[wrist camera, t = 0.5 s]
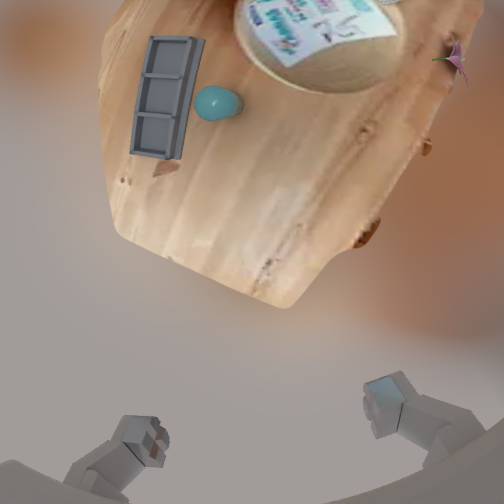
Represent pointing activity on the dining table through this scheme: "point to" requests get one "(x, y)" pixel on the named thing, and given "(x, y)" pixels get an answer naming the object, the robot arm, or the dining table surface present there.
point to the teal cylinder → (217, 103)
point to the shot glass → (388, 2)
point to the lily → (456, 57)
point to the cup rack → (165, 96)
